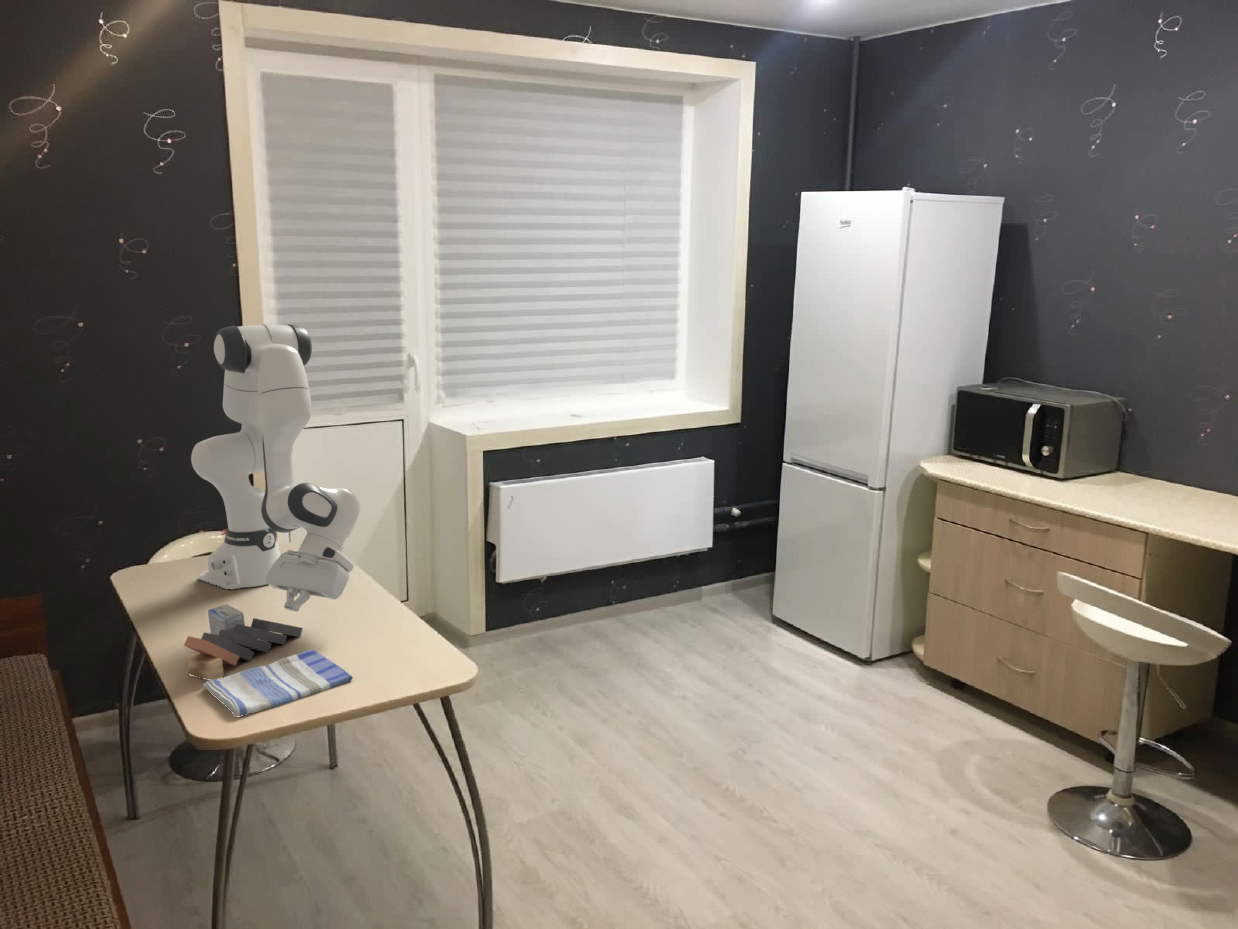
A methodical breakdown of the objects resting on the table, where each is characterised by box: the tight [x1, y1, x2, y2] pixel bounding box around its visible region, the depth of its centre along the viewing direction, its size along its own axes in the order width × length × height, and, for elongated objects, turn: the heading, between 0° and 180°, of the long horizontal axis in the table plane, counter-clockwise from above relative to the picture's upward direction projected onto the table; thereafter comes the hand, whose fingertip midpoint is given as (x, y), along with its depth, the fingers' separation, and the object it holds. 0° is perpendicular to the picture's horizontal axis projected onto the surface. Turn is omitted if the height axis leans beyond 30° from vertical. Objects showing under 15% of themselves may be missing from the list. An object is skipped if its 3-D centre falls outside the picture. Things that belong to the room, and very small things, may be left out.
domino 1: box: [183, 635, 240, 667], centre depth 195 cm, size 5×2×10 cm
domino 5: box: [250, 617, 303, 638], centre depth 210 cm, size 5×2×10 cm
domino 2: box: [200, 631, 255, 662], centre depth 198 cm, size 5×2×10 cm
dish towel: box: [202, 649, 353, 716], centre depth 189 cm, size 17×24×3 cm
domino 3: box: [219, 629, 273, 653], centre depth 202 cm, size 5×2×10 cm
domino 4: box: [234, 624, 288, 646], centre depth 206 cm, size 5×2×10 cm
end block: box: [186, 652, 225, 679], centre depth 193 cm, size 7×2×4 cm, turn 64°
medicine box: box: [207, 604, 249, 649], centre depth 207 cm, size 8×4×9 cm, turn 47°
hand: (290, 609), depth 213 cm, fingers closed
